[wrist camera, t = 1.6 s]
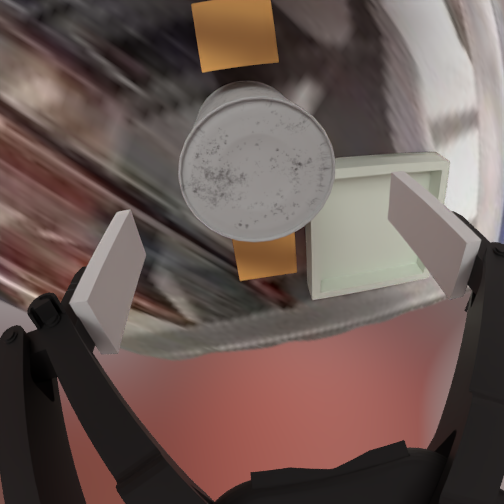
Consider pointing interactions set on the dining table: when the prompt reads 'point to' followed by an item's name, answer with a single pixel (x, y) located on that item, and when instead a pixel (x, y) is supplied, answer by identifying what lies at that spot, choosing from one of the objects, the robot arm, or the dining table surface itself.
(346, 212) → the tray
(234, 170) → the grey cylinder
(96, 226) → the dining table surface
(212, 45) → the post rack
